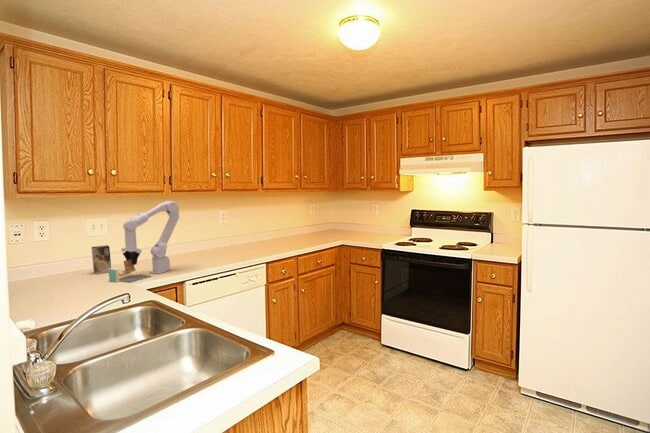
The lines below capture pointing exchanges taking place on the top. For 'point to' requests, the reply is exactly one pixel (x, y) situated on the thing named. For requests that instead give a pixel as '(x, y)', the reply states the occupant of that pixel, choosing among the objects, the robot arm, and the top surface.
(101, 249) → the coffee box
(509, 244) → the top surface
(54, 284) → the top surface
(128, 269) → the brown l-shaped block
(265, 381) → the top surface
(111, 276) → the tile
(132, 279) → the mat
